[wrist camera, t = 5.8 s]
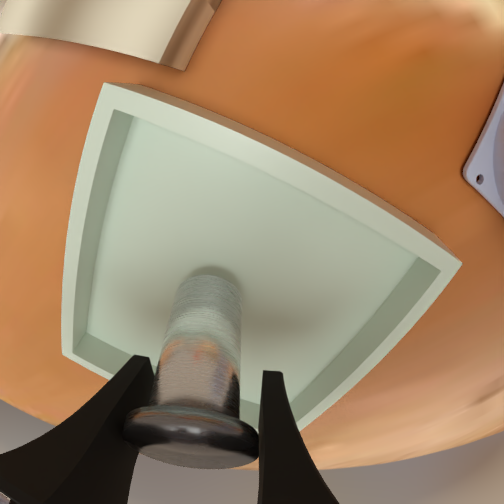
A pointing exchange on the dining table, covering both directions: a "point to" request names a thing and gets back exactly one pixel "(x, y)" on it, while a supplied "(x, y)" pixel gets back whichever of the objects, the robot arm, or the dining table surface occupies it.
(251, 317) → the tray
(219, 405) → the steel pin
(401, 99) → the dining table surface
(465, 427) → the dining table surface
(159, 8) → the pin block
